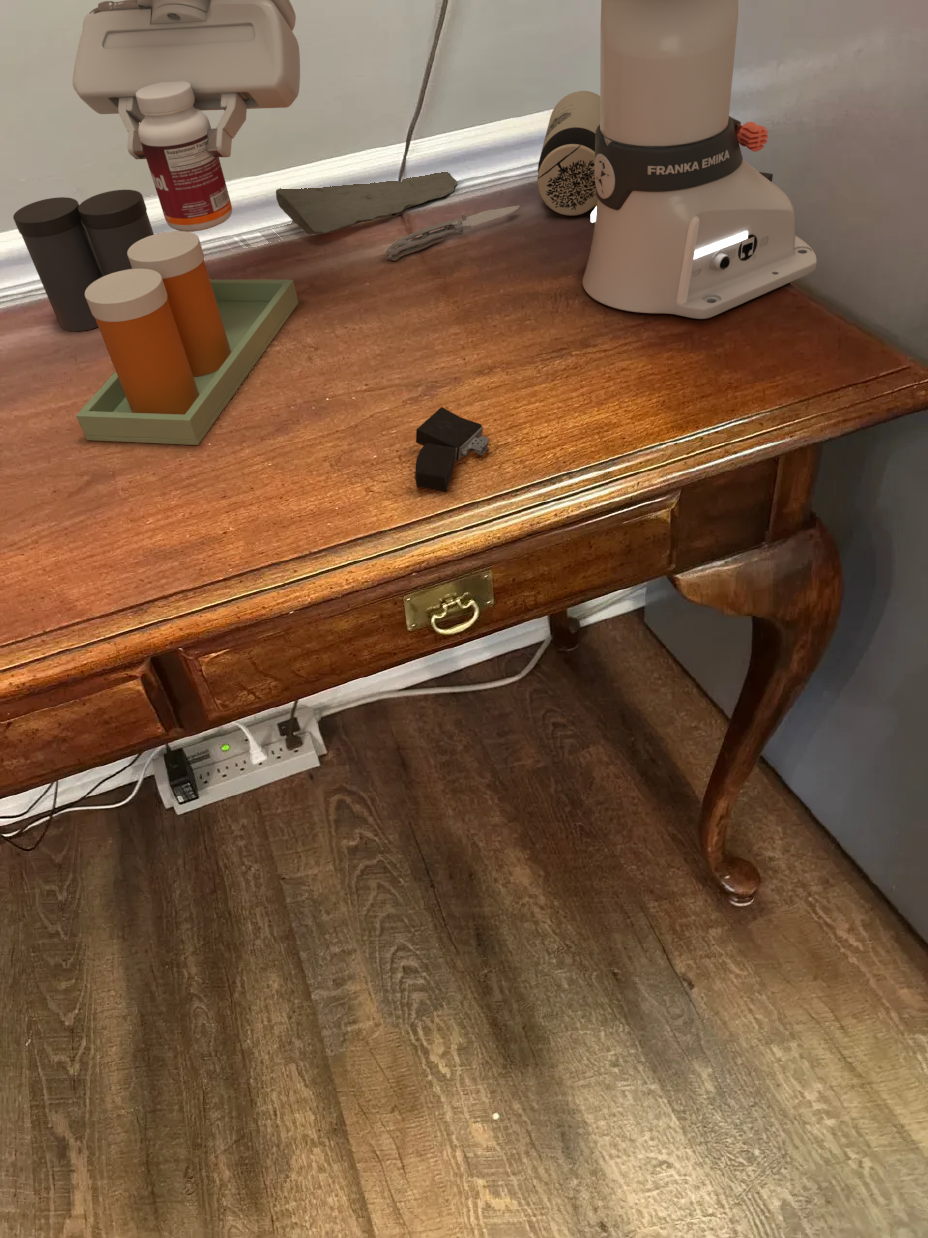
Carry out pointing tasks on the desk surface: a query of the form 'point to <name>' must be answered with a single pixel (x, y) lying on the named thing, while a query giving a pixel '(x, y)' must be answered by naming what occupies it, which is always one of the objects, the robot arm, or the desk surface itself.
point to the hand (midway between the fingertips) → (179, 155)
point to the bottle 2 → (143, 341)
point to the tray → (249, 329)
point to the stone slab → (359, 201)
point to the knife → (442, 232)
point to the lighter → (445, 447)
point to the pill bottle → (181, 158)
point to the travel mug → (570, 155)
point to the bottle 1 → (186, 295)
